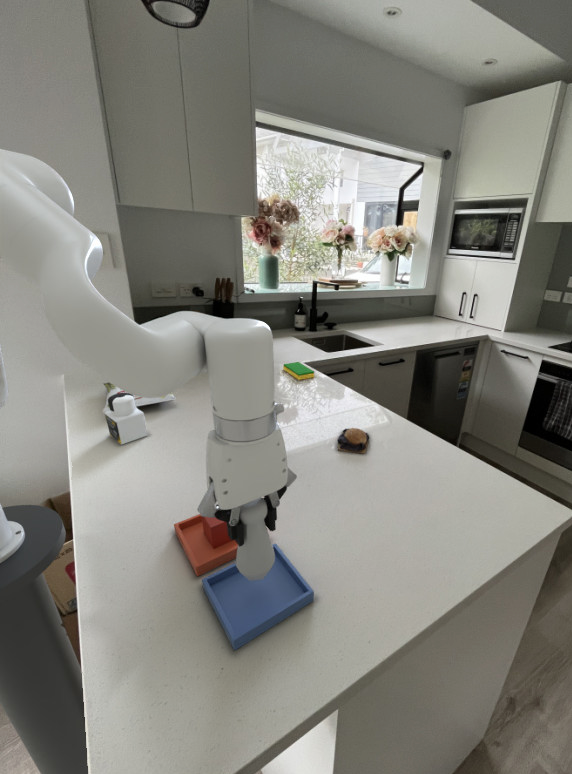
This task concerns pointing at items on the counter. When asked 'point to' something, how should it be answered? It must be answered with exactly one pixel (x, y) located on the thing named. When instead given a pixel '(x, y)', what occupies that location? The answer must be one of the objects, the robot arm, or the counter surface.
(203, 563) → the red tray
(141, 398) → the frozen beans
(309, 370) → the dish sponge
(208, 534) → the red block
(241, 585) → the blue tray
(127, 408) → the medicine bottle
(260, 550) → the salt shaker
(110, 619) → the counter surface
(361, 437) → the burger
